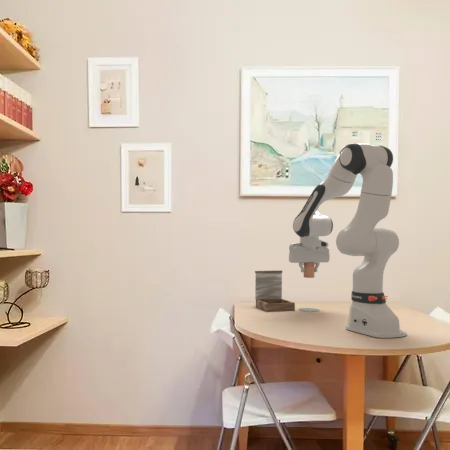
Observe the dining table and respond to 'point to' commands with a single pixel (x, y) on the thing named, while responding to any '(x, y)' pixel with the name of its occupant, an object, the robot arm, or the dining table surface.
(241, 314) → the dining table surface
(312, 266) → the orange cylinder
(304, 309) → the grey flat disc
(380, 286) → the robot arm
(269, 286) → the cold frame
